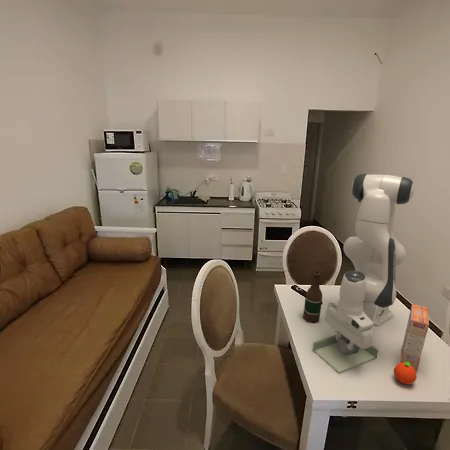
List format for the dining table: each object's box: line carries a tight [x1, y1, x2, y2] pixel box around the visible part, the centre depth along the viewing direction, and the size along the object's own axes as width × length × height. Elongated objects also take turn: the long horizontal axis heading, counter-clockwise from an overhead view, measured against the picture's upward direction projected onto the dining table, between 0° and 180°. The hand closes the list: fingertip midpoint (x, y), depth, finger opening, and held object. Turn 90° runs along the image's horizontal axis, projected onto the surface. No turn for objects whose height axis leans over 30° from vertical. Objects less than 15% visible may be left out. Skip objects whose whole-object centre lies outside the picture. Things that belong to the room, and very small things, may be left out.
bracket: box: [336, 338, 360, 354], centre depth 123 cm, size 8×4×6 cm, turn 117°
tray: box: [312, 333, 379, 375], centre depth 123 cm, size 20×14×4 cm
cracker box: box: [399, 303, 430, 374], centre depth 119 cm, size 14×6×21 cm, turn 148°
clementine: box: [393, 362, 417, 385], centre depth 110 cm, size 8×7×7 cm
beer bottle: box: [303, 270, 323, 324], centre depth 144 cm, size 8×8×24 cm
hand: (344, 344), depth 122 cm, fingers open, 4 cm apart
